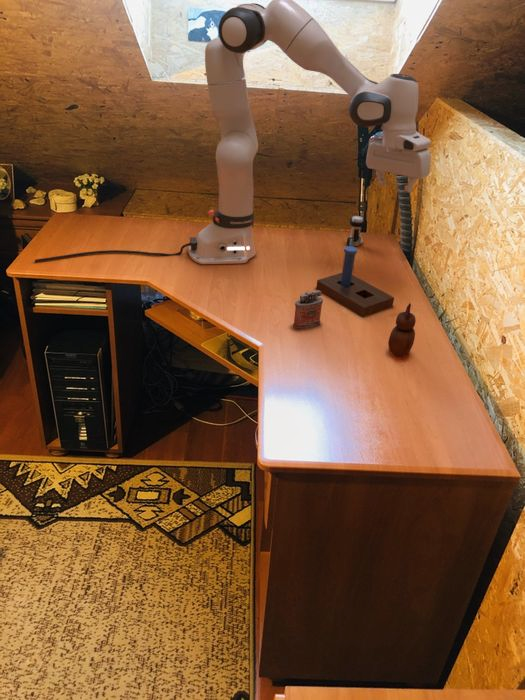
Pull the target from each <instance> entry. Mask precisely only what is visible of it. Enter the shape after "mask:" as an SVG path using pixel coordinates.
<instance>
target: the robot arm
mask: <svg viewBox="0 0 525 700" xmlns="http://www.w3.org/2000/svg"><path fill="white" fill-rule="evenodd" d="M218 22H219V23H218V27H217V28H218V36H217V37H214V38H213V39H211V40H210V41H209V42H208V43H206V45H205V49H204V66H205V67H204V68H205V76H206V83H207V89H208V95H209V99H210V105H211V111H212V114H213V117H214V118H215V121H216V124H217V127H218V130H219V133H220V140H219V142H218V144H217V145H216V149H215V163H216V174H217V182H218V209H217V210H216V211H215V210H213V209H210V210H208V213H207V214H208V216H209V218H212V221H211V222H210V223H209V224H208V225H207V226H205V227H204V228H202V229H201V230H200V231H199V232H197V234H196V235H195V236H194V237H189V242H188V243H185V244H183V245H182V246H181V247H180V250H179V251H178V252H176V253H163V252H148V251H140V250H125V249H124V250H122V249H121V250H119V249H113V250H111V249H110V250H94V251H83V252H76V253H71V254H65V255H58V256H57V255H56V256H51V257H44V258H43V257H42V258H36V259H34V262H35V263H38V262H45V261H52V260H59V259H64V258H71V257H79V256H86V255H93V254H94V255H95V254H108V253H109V254H112V253H113V254H115V253H117V254H118V253H119V254H121V253H122V254H124V253H125V254H138V255H140V254H141V255H147V256H162V257H171V256H179V255H181V254H182V253H183V250H184V249H185V248H186V247H188V249H187V254H188V256H189V257H190V259H191V260H192V261H194V262H195V263H197V264H199V265H227V264H228V265H229V264H230V265H232V264H233V265H234V264H246V263H248V261H249V260H251V258H253V257H255V256H256V254H257V253H256V248H255V242H254V225H255V211H254V196H255V195H254V194H255V193H254V192H255V186H254V173H253V172H254V171H253V170H254V169H253V165H254V159H255V157H256V156H257V154H258V151H259V140H258V134H257V131H256V126H255V122H254V118H253V114H252V111H251V106H250V100H249V93H248V92H249V91H248V87H247V86H248V85H247V80H246V73H245V67H244V66H245V65H244V59H245V56H246V54H247V53H250V52H253V51H254V50H257V49H258V48H260V47H261V46H263V45H265V43H266V42H267V41H269V42H271V43H273V44H275V45H276V46H277V47H278V48H279V49H280V50H281V51H282V52H283V53H284V54H285V55H286V56H287V58H289V59H290V60H291V61H292V62H293V63H294V64H296V65H297V66H299V67H300V68H302V69H303V70H305V71H310V72H316V73H320V74H323V75H325V76H327V77H329V78H330V79H331V80H332V81H333V82H335V84H337V85H338V86H339V88H341V89H342V90H343V91H344V92H345V93H346V94H347V95H348V96H349V97H350V99H351V100H350V103H349V109H348V112H349V116H350V119H351V121H352V122H353V123H354V124H355V125H357V126H358V127H362V128H371V127H376V126H380V125H382V126H383V127H382V135H378V134H374V135H373V136H370V138H369V139H368V148H367V152H366V159H365V165H366V167H367V169H372V170H375V175H376V178H377V181H378V182H377V183H378V186H379V187H385V186H386V185H387V178H385V177H384V173H389V174H395V175H398V176H404V177H407V178H408V179H407V181H409V182H408V183H407V184H406V185H404V189H403V192H405V193H411V192H412V191H413V187H414V185H415V183H416V182H417V180H421V179H422V180H423V179H424V178H428V176H429V174H430V171H431V159H432V157H431V151H430V149H428V148H430V147H431V145H432V141H431V139H430V138H428V137H426V136H424V135H422V133H420V132H418V131H417V122H416V118H417V114H418V110H419V96H420V95H419V93H420V92H419V90H420V89H419V84H418V81H417V80H416V78H415V77H414V76H412V75H409V74H403V73H392V74H390V75H388V76H387V77H386V78H385V79H383V80H381V81H380V82H377V81H374V80H370V79H369V78H367V77H366V76H365V75H364V74H363V73H362V72H361V71H359V69H358V68H357V67H355V66H354V65H353V63H352V62H350V61H349V60H348V59H347V58H346V57H345V56H344V55H343V54H342V53H341V51H340V50H339V48H338V47H337V45H335V43H334V42H333V40H332V39H331V38H330V37H329V35H328V33H327V32H326V31H325V29H324V28H323V27H322V26H321V25H320V24H319V22H317V20H316V19H315V18H314V17H313V16H312V15H311V14H310V13H309V12H307V11H306V10H305V8H303V7H302V6H301V5H299V4H298V3H297V2H295V1H294V0H271V1H270V2H269V3H268V4H267V6H266V7H264V5H261V4H259V3H253V2H252V3H243V4H239V5H237V6H235V7H231V8H229V9H228V10H227V11H226V12H225V13H224V14H223V15H222V16H221V18H220V20H219V21H218Z"/></svg>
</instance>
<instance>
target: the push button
mask: <svg viewBox="0 0 525 700" xmlns="http://www.w3.org/2000/svg"><path fill="white" fill-rule="evenodd" d="M365 223H366V220H365V219H364V217H362V216H360V215H354V216H352V217H351V218H350V219H349V225H350V226H351V229H350V236H348V237H347V238H346V245H347V246H352V247H357V246H360V245H361V243H364V242H363V240H364V238H362V237H361V231H362V230H361V229H362V227H364V226H365Z"/></svg>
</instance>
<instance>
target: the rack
mask: <svg viewBox="0 0 525 700" xmlns="http://www.w3.org/2000/svg"><path fill="white" fill-rule="evenodd" d="M341 277H342V272H340V273H336V274H333V275H330V276H326V277H322V278H319V279H317V280H316V291H318V290H320V291H321V294H324V295H326V296H328V297H329V298H331V299H332V300H333V301H335V302H337V303H339V304H340V305H342V306H343V307H346V308H347V309H349V310H351V311H352V312H354V313H355V314H357V315H359V317H362V318H364V317H368V316H370V315H373V314H376V313H379V312H382V311H384V310H387V309H390V308H392V307H393V306H394V301H395V297H394V296H392V295H391V294H389V293H387V292H385V291H383V290H381V289H380V288H378V287H376V286H374V285H372V284H371V283H368V282H367V281H365V280H363V279H361V278H360V277H358V276H355V275H354V274H352V279H351V285H350V286H349V287H346V288H345V287H344V286H342V285H340V284H341Z"/></svg>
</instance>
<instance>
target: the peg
mask: <svg viewBox="0 0 525 700" xmlns="http://www.w3.org/2000/svg"><path fill="white" fill-rule="evenodd" d="M343 253H344V256H343V263H342V271H341V273H342V277H341V284H340V285H342V286H344V287H345V288H346V287H349V286H350V285H351V279H352V275H353V271H354V264H355V259H356V255H357V254H358V247H356V246H349V245H347V246H344V247H343Z"/></svg>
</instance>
